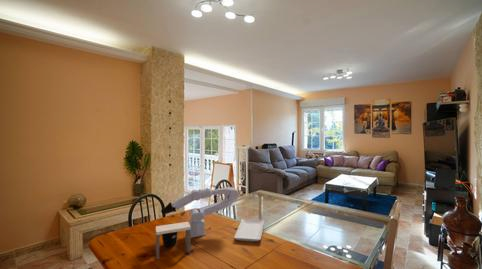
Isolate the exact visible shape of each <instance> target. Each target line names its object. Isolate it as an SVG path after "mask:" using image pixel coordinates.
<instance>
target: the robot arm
mask: <svg viewBox="0 0 482 269" xmlns="http://www.w3.org/2000/svg"><path fill="white" fill-rule="evenodd" d="M217 195H225V198H224V199H223V200H220V201H218V202H215V203H213V204H212V203H211V204H210V205H207V206H204V207H199V208H193V209H191V210H190V212H189V215H190V220H189V224H190V227H191V239H192V238H197V237H202V236H205V235H206V234H205V232H206V231H205V230H206V224H205V220H204V219H205V217H206V216H208V215H210V214H213V213H215V212H219V211H220V210H223V209H226V208H228V207H231V205H232V204H234V202H235V201H237V200H238V198H239V191H238V190H237V189H235V188H234V187H233V186H229V187H227V186H225V187H222V188H216V189H215V188H214V189H211V188H208V187H206V188H204V189H201V188H198V189H193V190H191V192H190V193H188V194H186V195H184V196H182V197H180V198H178V199H176V200H175V199H172V201H173V202H171V201H170V202H169V203H168V204H167V205H166V206H164V207H163V208H162V209H161V210H160V211H161V214H164V215H167V214H170V213H173V212H175V213H176V212H177V211H178V210H180V209H183V207H185V206H187V205H189V204H191V203H192V202H194V201H197V202H198V201H199V200H200V199H208V198H211V197H212V196H217Z"/></svg>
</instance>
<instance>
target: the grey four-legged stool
mask: <svg viewBox="0 0 482 269" xmlns="http://www.w3.org/2000/svg"><path fill="white" fill-rule="evenodd" d="M184 231H185V248H186V250H187V253H188V254H190V253H192V252H191V248H192V247H191V245H192V244H191V241H192V240H191V239H192V238H191V227H190V221H183V222H177V223H170V224H163V225H156V226H155V259H156V260H160V235H162V234H166V233H172V232H184Z"/></svg>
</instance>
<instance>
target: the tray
mask: <svg viewBox="0 0 482 269" xmlns="http://www.w3.org/2000/svg"><path fill="white" fill-rule="evenodd" d="M264 226H265V219H258V218H257V219H256V218H241V221H240V224H239V225H238V227H237V230H236V231H235V234H234V237H233V239H234V240H237V241H241V242H254V243H255V242H259V241H261V239H262V235H263V232H264V231H263V230H264Z"/></svg>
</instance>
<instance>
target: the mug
mask: <svg viewBox="0 0 482 269" xmlns="http://www.w3.org/2000/svg"><path fill="white" fill-rule="evenodd" d="M178 232H179V231H178ZM178 232H172V233H166V234H161V237H162V244H163V247H165V248H173V247H174V246H176V244H177V241H178V240H177V239H178Z"/></svg>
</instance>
